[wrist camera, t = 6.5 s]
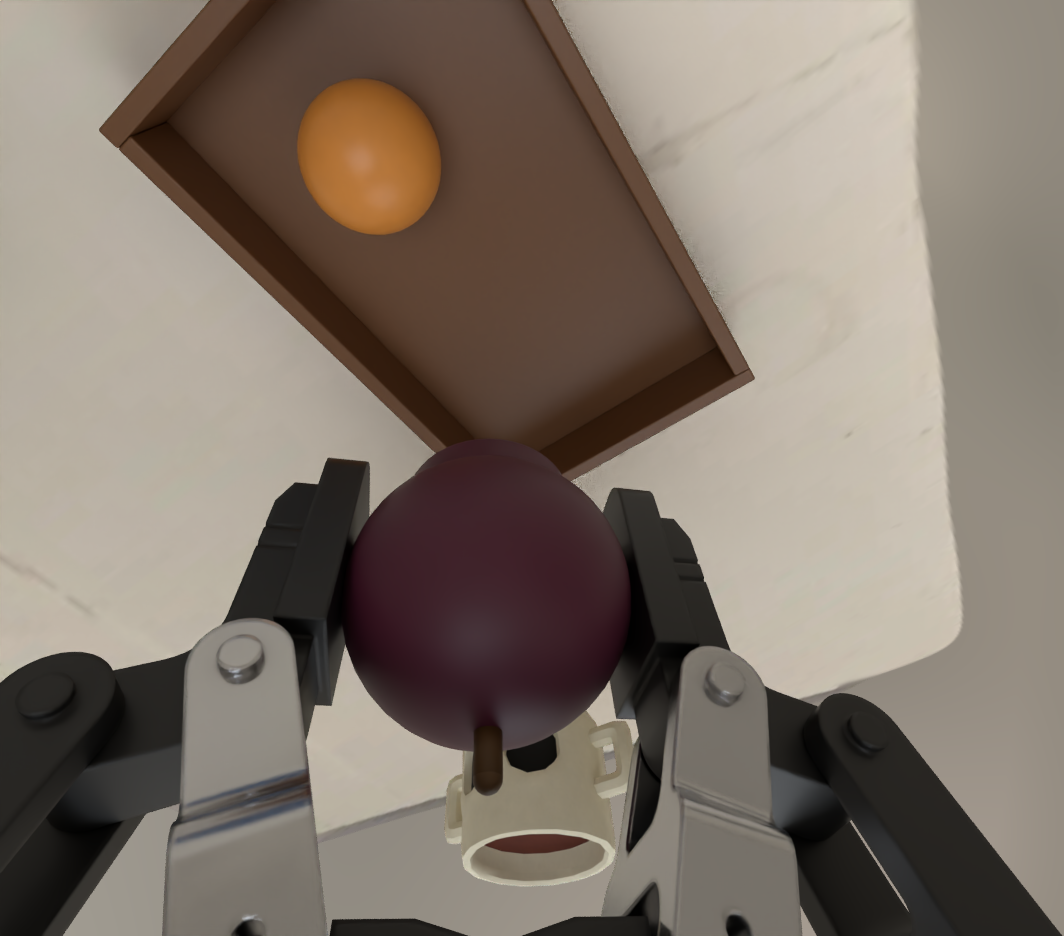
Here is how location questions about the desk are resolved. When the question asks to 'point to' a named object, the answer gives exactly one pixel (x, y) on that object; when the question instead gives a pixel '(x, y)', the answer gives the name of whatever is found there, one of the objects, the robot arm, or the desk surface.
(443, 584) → the plum
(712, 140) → the desk surface
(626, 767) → the character mug
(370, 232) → the apricot
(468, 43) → the tray
